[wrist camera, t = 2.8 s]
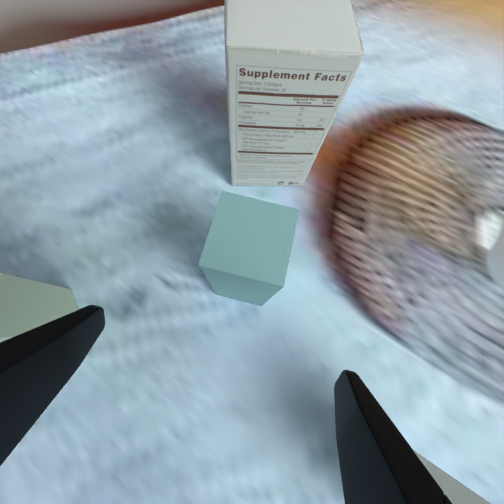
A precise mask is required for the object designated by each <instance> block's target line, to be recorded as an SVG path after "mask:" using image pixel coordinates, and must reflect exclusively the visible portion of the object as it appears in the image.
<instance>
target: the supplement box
mask: <svg viewBox="0 0 504 504" xmlns="http://www.w3.org/2000/svg"><path fill="white" fill-rule="evenodd" d="M363 56H364V49H363V45H362V41H361V38H360V33H359V29H358V25H357V20H356V16H355V12H354V6H353V3H352V0H225V59H226V81H227V104H228V125H229V145H230V165H231V184H232V185H235V186H303V184H304V182H305V179H306V177H307V175H308V173H309V171H310V169H311V166H312V164H313V162H314V160H315V158H316V156H317V154H318V152H319V149H320V147H321V145H322V143H323V141H324V139H325V137H326V135H327V133H328V130H329V128H330V126H331V124H332V122H333V120H334V118H335V116H336V114H337V112H338V109H339V107H340V105H341V103H342V101H343V99H344V97H345V95H346V93H347V90H348V88H349V86H350V84H351V82H352V80H353V78H354V75H355V73H356V71H357V69H358V67H359V65H360V62H361V60H362V58H363Z"/></svg>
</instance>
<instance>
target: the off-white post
mask: <svg viewBox="0 0 504 504" xmlns="http://www.w3.org/2000/svg"><path fill="white" fill-rule="evenodd" d="M413 451H414V450H413ZM414 452H415V451H414ZM415 453H416V455H417V456H418V458H419V459H420V460H421V462H422V463H423V464H424V466H425V467H426V468H427V470H428V471H429V473H430V474H431V475H432V477H433V478H434V479H435V481H436V482H437V483H438V485H439V486H440V488H441V489H442V490H443V492H444V494H445V495H446V496H447V497H448V498H449V500H450V501H451V502H452V504H490V503H489V502H488V501H486V500H485V499H483V498H482V497H480V496H479V495H477V494H476V493H475V492H473V491H472V490H470V489H469V488H467V487H466V486H464V485H463V484H462V483H460V482H459V481H457V480H456V479H454V478H453V477H451V476H450V475H449V474H447V473H446V472H444V471H443V470H441V469H440V468H438V467H437V466H436V465H434V464H433V463H431V462H430V461H428V460H427V459H425V458H424V457H423V456H421V455H420V454H418V453H417V452H415Z"/></svg>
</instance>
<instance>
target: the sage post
mask: <svg viewBox="0 0 504 504" xmlns="http://www.w3.org/2000/svg"><path fill="white" fill-rule="evenodd" d="M77 310H79V309H78V306H77V304H76V301H75V298H74V295H73V292H72V290H71V289H68V288H64V287H60V286H56V285H51V284H47V283H43V282H39V281H34V280H30V279H26V278H22V277H17V276H13V275H9V274H5V273H0V342H2V341H5V340H7V339H10V338H12V337H14V336H17V335H19V334H22V333H24V332H26V331H29V330H31V329H34V328H36V327H38V326H41V325H43V324H46V323H48V322H50V321H53V320H55V319H58V318H60V317H62V316H65V315H67V314H70V313H72V312H74V311H77Z"/></svg>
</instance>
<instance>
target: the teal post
mask: <svg viewBox="0 0 504 504" xmlns="http://www.w3.org/2000/svg"><path fill="white" fill-rule="evenodd" d="M298 213H299V210H298V209H294V208H290V207H286V206H282V205H278V204H274V203H270V202H266V201H262V200H258V199H254V198H250V197H246V196H242V195H238V194H234V193H230V192H226V191H222V192H221V195H220V198H219V202H218V205H217V208H216V211H215V214H214V217H213V220H212V223H211V226H210V229H209V232H208V236H207V239H206V242H205V245H204V248H203V251H202V254H201V257H200V260H199V263H198V266H199V268H200V269H201V271H202V272H203V274H204V276H205V277H206V279H207V281H208V282H209V284H210V286H211V287H212V289H213V290H214V292H215V294H217V295H221V296H224V297H228V298H232V299H236V300H240V301H244V302H248V303H252V304H256V305H260V306H262V305H263V304H264V303H265V302H267V301H268V300H269V299H270V298H271V297H272V296H273V295H275V294H276V293H277V292H278V291H279V290H280V289H281V288H283V287H284V282H285V277H286V272H287V267H288V262H289V257H290V252H291V247H292V242H293V237H294V232H295V227H296V222H297V218H298Z"/></svg>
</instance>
